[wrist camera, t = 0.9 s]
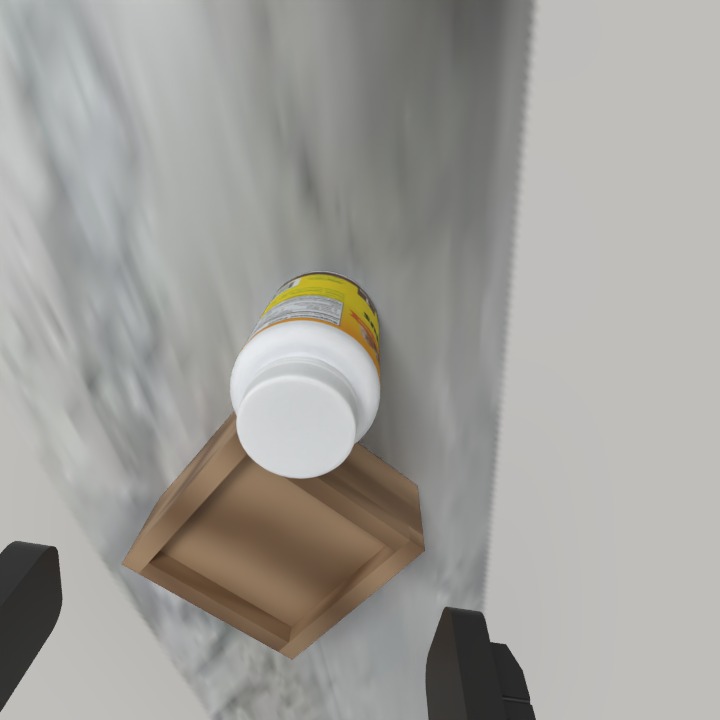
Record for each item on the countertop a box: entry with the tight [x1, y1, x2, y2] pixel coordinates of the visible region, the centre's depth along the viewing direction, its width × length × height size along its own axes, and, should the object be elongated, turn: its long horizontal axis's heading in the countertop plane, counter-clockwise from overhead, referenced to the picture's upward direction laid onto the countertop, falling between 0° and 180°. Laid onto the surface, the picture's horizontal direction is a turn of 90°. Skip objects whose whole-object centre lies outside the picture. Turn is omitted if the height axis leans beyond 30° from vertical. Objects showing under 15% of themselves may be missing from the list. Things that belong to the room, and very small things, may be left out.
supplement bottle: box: [230, 271, 381, 479], centre depth 21 cm, size 6×6×10 cm
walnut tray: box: [122, 411, 425, 660], centre depth 28 cm, size 11×11×5 cm
